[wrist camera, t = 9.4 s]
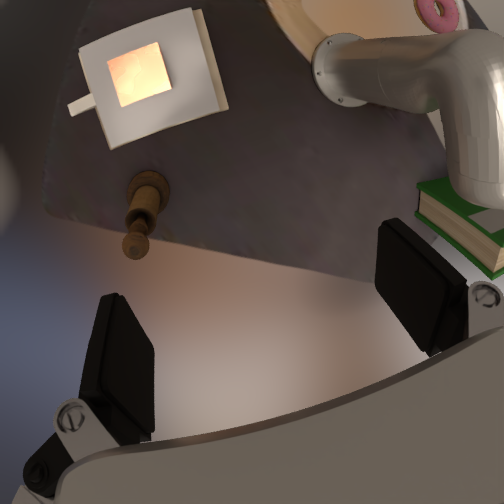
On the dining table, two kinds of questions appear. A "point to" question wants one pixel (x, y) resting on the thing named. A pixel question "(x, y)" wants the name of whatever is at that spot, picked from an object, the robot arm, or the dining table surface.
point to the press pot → (158, 105)
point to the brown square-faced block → (140, 74)
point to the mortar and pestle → (143, 211)
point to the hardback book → (464, 225)
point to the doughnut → (433, 20)
